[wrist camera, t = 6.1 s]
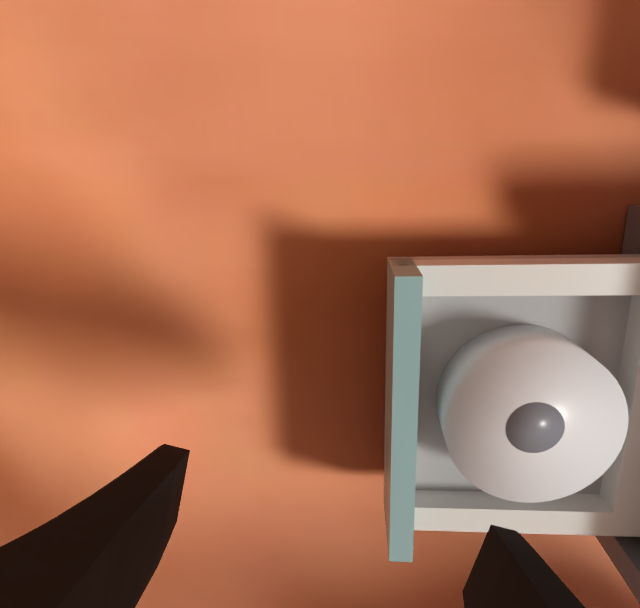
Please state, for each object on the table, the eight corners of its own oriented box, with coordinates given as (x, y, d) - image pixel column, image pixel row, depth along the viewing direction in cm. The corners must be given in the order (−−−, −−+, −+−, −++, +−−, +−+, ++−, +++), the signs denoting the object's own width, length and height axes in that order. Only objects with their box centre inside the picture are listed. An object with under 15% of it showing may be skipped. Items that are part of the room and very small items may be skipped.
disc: (424, 456, 18) (432, 490, 16) (449, 315, 16) (462, 335, 14) (575, 475, 18) (602, 513, 16) (616, 334, 16) (651, 357, 14)
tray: (695, 508, 18) (761, 574, 15) (383, 500, 19) (389, 561, 16) (754, 252, 16) (847, 272, 13) (387, 256, 17) (394, 276, 14)
